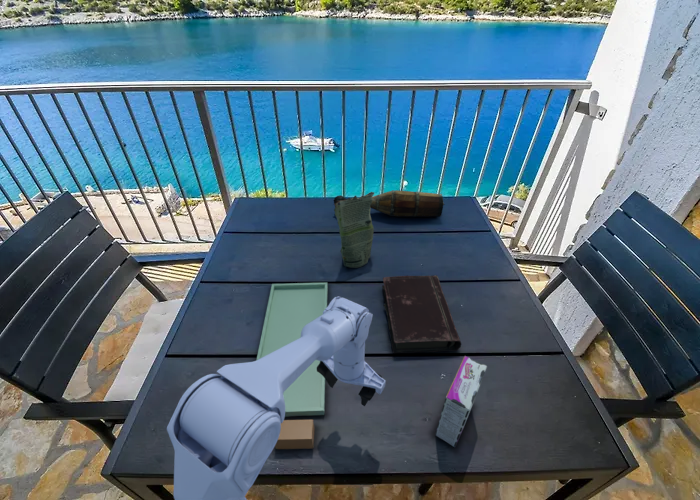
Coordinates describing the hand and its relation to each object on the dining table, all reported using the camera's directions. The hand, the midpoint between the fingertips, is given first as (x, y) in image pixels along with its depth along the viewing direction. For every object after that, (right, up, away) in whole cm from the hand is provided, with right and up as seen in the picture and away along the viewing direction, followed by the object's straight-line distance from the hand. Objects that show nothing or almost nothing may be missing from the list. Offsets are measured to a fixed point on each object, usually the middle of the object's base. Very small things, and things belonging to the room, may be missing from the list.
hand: (349, 392), depth 71 cm
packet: (-12, -12, +4) cm, 17 cm away
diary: (+19, +9, +31) cm, 38 cm away
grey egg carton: (+23, -10, +8) cm, 26 cm away
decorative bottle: (+15, +44, +75) cm, 88 cm away
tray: (-15, +4, +25) cm, 29 cm away
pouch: (+2, +26, +53) cm, 59 cm away
